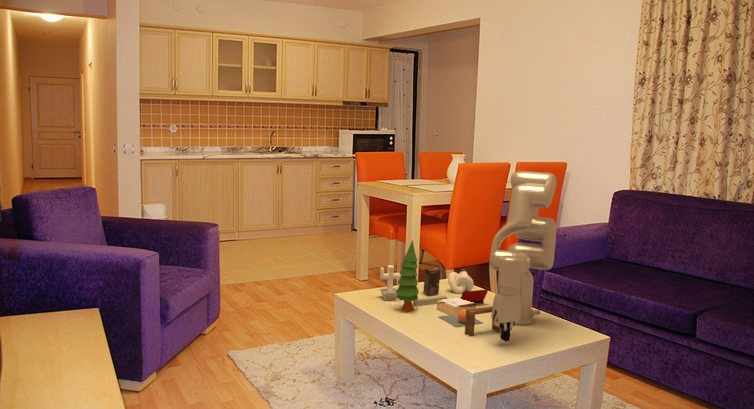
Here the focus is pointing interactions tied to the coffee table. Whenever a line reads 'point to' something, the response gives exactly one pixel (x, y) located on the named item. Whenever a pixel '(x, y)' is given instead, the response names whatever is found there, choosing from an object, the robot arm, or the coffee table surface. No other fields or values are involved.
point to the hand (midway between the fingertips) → (505, 340)
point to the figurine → (389, 283)
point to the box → (431, 281)
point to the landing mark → (456, 320)
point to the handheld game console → (474, 296)
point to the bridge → (471, 319)
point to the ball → (462, 315)
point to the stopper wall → (428, 301)
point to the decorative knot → (460, 282)
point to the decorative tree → (408, 280)
